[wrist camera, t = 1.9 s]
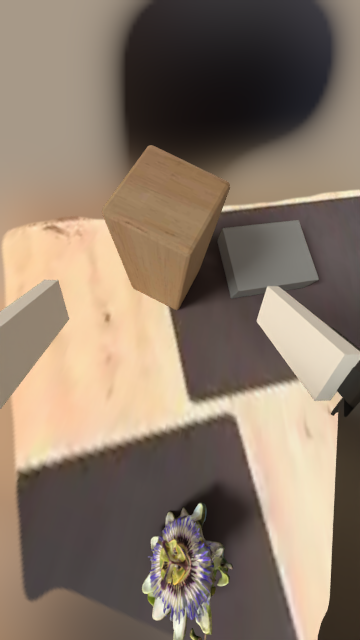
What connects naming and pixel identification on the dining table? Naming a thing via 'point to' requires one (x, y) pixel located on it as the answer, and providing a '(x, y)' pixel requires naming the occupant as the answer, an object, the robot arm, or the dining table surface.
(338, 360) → the robot arm
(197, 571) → the passion flower
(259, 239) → the plinth
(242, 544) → the dining table surface
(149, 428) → the dining table surface
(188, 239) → the wooden block
